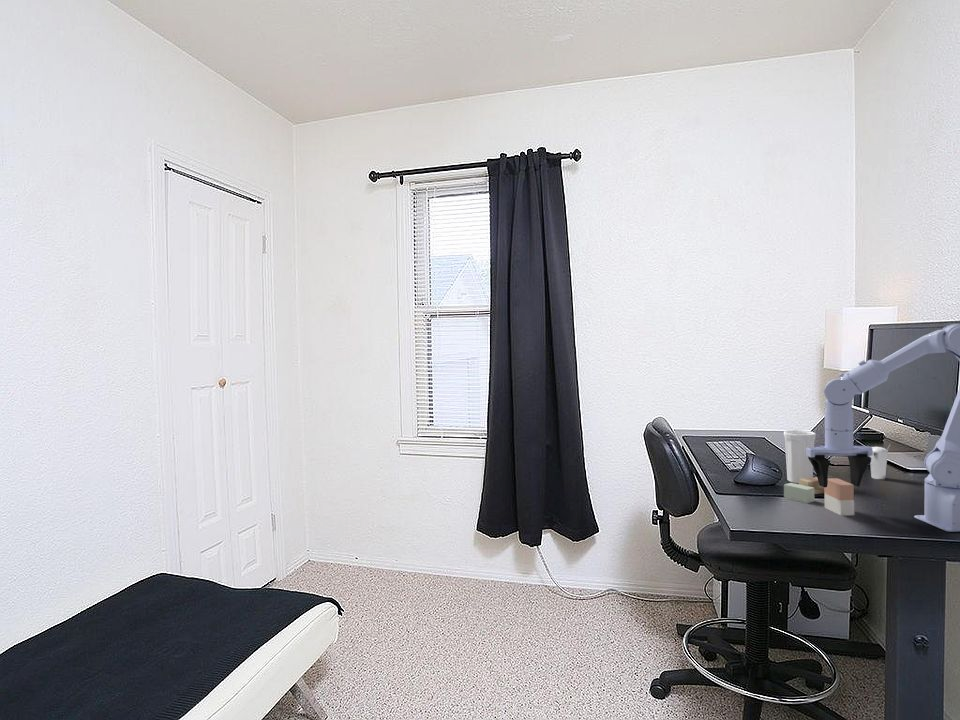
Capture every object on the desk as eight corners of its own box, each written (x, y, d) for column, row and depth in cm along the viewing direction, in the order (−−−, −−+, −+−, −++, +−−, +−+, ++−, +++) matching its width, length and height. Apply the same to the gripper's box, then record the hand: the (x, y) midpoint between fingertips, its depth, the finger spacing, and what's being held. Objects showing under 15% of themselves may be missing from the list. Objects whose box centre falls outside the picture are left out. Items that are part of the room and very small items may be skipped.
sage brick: (814, 501, 142) (814, 487, 142) (807, 503, 140) (807, 489, 140) (791, 496, 147) (790, 482, 147) (784, 498, 145) (783, 484, 145)
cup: (786, 485, 157) (786, 434, 156) (781, 477, 164) (780, 429, 164) (819, 486, 154) (819, 435, 154) (812, 479, 162) (812, 430, 161)
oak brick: (817, 490, 152) (817, 477, 151) (827, 493, 148) (827, 480, 148) (798, 492, 150) (798, 478, 150) (808, 495, 147) (808, 481, 147)
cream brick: (854, 515, 130) (854, 500, 130) (840, 515, 130) (840, 500, 130) (837, 507, 136) (837, 492, 136) (824, 507, 136) (824, 493, 136)
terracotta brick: (853, 500, 130) (853, 484, 130) (839, 500, 130) (839, 485, 130) (837, 492, 136) (837, 478, 136) (824, 493, 136) (824, 478, 136)
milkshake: (894, 480, 158) (894, 445, 158) (873, 480, 159) (873, 445, 159) (886, 476, 163) (886, 442, 162) (865, 475, 164) (865, 442, 163)
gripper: (858, 425, 136) (858, 480, 137) (798, 427, 137) (799, 482, 137) (878, 430, 129) (878, 488, 130) (815, 432, 130) (816, 490, 130)
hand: (839, 485), depth 133 cm, fingers open, 7 cm apart
